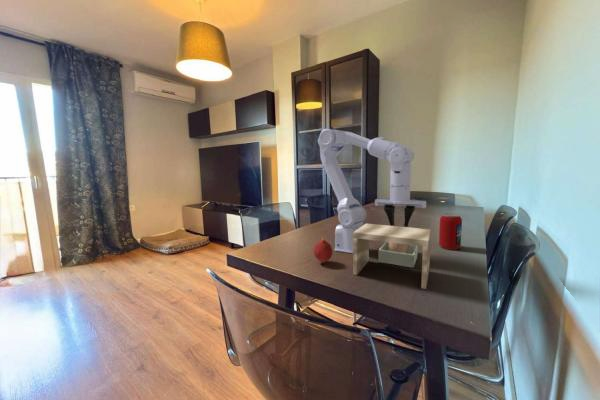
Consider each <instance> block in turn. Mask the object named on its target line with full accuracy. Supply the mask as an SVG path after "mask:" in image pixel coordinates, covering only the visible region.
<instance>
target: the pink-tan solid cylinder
mask: <svg viewBox="0 0 600 400" xmlns="http://www.w3.org/2000/svg"><path fill="white" fill-rule="evenodd" d="M389 251H391V252H399V253H406V254H408V244H400V243H392V242H389Z"/></svg>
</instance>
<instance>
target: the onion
mask: <svg viewBox="0 0 600 400" xmlns="http://www.w3.org/2000/svg"><path fill="white" fill-rule="evenodd" d="M313 255H314V257H315V259H317V261H318V262H320V263H322V264H325V263H326V262H328V261H330V259H331V258H332V256H333V247H332V245H331V244H330V243H329V242H328V241H327V240H325V238H323V237H322V238H320V241H318V242H317V243H316V244H315V245H314V248H313Z"/></svg>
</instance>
